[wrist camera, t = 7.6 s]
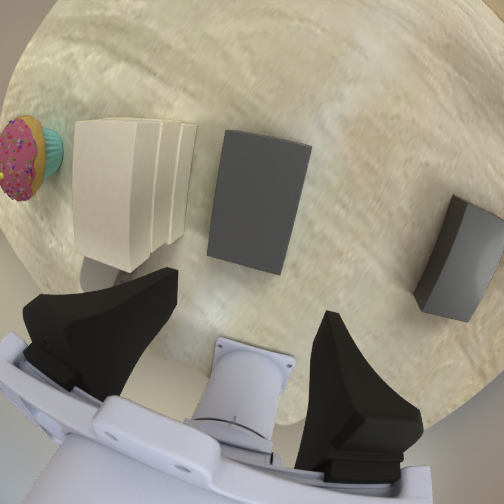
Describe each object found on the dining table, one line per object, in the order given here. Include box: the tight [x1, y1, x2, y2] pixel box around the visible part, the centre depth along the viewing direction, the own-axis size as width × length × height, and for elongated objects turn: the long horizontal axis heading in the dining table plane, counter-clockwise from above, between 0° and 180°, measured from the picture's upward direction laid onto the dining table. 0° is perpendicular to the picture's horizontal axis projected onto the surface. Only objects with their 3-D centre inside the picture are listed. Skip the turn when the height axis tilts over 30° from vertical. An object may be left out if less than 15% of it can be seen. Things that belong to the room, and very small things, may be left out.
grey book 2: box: [414, 195, 504, 322], centre depth 17 cm, size 9×6×2 cm, turn 168°
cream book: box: [72, 120, 160, 273], centre depth 16 cm, size 9×5×2 cm, turn 168°
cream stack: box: [101, 117, 197, 253], centre depth 19 cm, size 9×6×5 cm, turn 168°
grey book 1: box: [207, 130, 312, 275], centre depth 19 cm, size 9×6×2 cm, turn 168°
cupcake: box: [0, 115, 63, 202], centre depth 17 cm, size 9×8×12 cm
